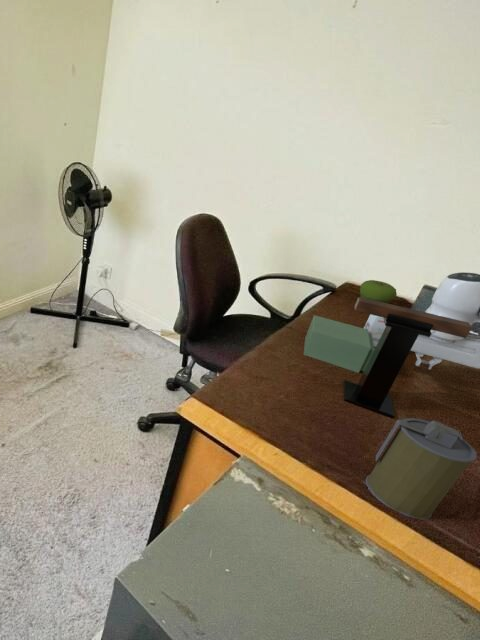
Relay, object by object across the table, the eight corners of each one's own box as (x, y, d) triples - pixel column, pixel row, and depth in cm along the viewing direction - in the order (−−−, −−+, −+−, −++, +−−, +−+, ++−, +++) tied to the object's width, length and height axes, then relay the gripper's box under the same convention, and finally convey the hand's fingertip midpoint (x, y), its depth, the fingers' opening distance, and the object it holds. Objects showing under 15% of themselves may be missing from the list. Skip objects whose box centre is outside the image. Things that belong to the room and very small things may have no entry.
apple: (371, 310, 159) (383, 288, 155) (346, 297, 169) (356, 276, 165) (396, 310, 160) (408, 288, 156) (370, 296, 170) (381, 275, 166)
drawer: (380, 359, 130) (390, 339, 127) (383, 377, 122) (394, 356, 118) (313, 339, 139) (321, 320, 136) (312, 355, 131) (321, 335, 128)
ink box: (390, 347, 137) (406, 317, 133) (395, 354, 133) (412, 324, 129) (357, 338, 141) (372, 309, 136) (361, 346, 137) (376, 316, 133)
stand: (389, 398, 115) (433, 314, 104) (393, 419, 108) (441, 331, 97) (342, 383, 121) (380, 302, 110) (343, 401, 114) (384, 317, 103)
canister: (429, 495, 88) (479, 427, 80) (435, 532, 81) (490, 461, 72) (362, 465, 94) (402, 399, 86) (362, 496, 87) (406, 428, 79)
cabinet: (356, 354, 134) (368, 329, 130) (358, 373, 125) (370, 347, 121) (304, 338, 141) (314, 315, 138) (303, 356, 132) (312, 331, 129)
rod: (462, 332, 99) (469, 322, 98) (465, 338, 97) (472, 327, 96) (354, 306, 111) (358, 296, 110) (354, 310, 109) (359, 300, 107)
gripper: (497, 334, 110) (473, 375, 116) (392, 310, 122) (375, 348, 128) (504, 345, 106) (478, 387, 111) (395, 319, 118) (376, 358, 123)
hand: (422, 366), depth 120 cm, fingers closed
